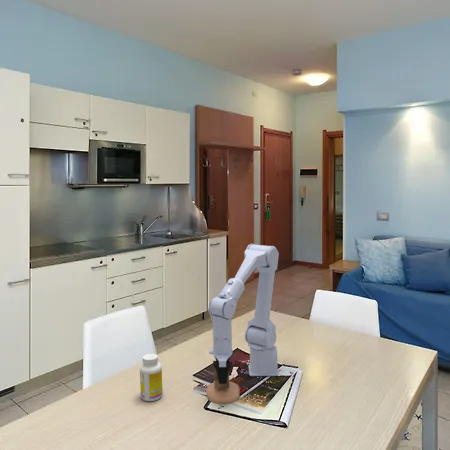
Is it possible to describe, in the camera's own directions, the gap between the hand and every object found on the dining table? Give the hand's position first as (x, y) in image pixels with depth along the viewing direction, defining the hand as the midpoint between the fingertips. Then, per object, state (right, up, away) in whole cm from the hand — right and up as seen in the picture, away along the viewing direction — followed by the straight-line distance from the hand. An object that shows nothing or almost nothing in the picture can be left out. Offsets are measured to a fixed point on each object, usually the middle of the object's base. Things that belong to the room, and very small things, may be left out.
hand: (222, 379), depth 129 cm
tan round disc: (0, -5, +1) cm, 6 cm away
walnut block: (0, -2, 0) cm, 2 cm away
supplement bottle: (-22, -6, +1) cm, 23 cm away
